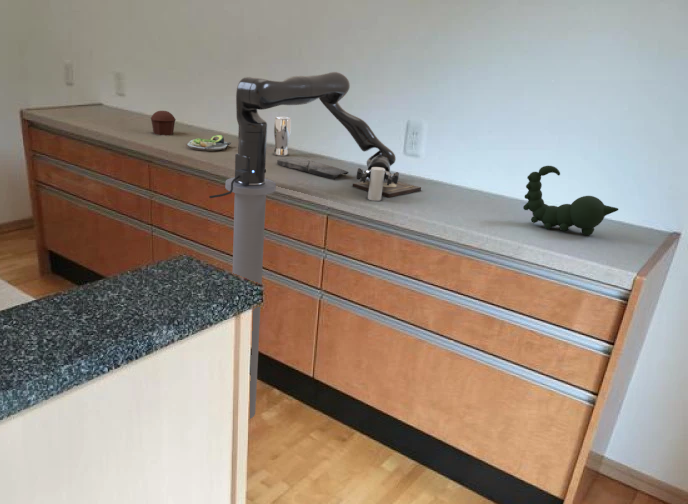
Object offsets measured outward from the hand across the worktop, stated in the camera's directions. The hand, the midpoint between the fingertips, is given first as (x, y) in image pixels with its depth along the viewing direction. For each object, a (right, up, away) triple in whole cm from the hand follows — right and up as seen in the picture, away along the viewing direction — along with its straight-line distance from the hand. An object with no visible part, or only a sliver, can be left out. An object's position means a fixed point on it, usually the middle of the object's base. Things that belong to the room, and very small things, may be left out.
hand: (376, 180), depth 192 cm
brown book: (+6, +1, +19) cm, 20 cm away
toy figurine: (+53, -17, -14) cm, 57 cm away
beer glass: (-31, +23, +62) cm, 73 cm away
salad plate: (-62, +27, +66) cm, 95 cm away
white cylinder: (0, -5, +5) cm, 7 cm away
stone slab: (-19, +11, +38) cm, 44 cm away
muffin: (-86, +40, +90) cm, 130 cm away
